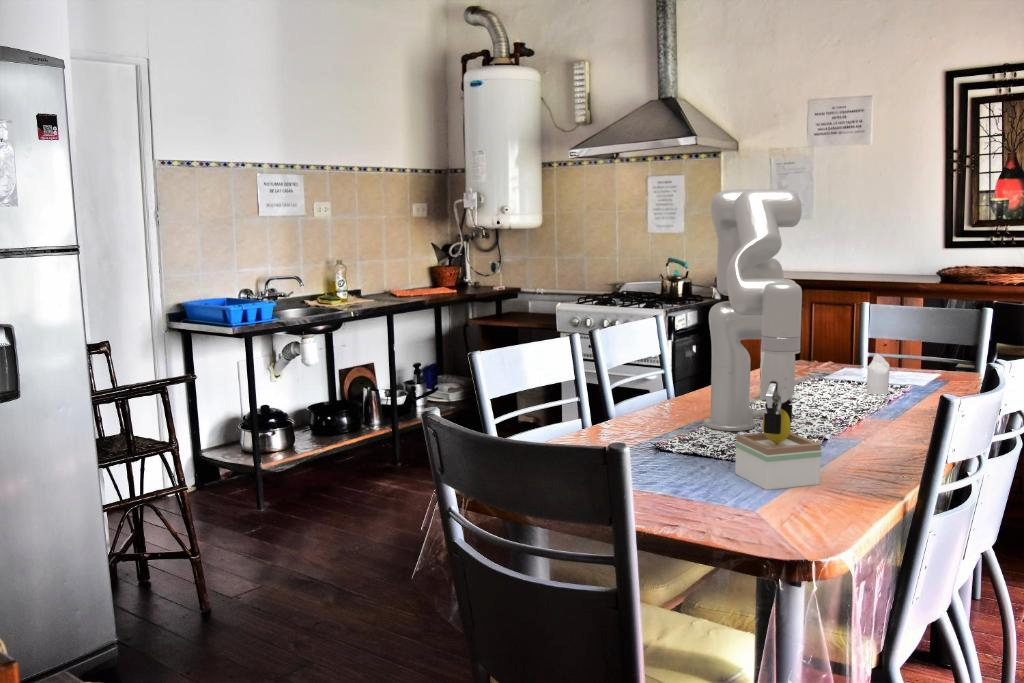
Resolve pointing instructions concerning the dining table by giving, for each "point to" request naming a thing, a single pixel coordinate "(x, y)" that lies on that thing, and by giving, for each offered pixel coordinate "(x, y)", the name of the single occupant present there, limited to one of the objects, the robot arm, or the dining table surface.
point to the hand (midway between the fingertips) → (778, 428)
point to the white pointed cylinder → (878, 376)
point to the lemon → (784, 429)
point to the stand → (777, 461)
